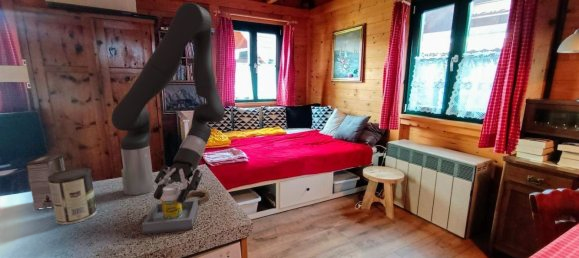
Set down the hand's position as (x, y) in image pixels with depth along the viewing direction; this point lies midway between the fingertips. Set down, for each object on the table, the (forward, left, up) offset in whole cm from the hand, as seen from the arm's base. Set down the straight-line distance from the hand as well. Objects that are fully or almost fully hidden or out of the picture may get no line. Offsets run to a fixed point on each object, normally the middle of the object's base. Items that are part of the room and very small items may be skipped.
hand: (167, 200), depth 78 cm
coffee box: (-42, +22, -7) cm, 48 cm away
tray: (+1, +1, -7) cm, 7 cm away
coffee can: (-29, +10, -7) cm, 32 cm away
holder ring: (+6, +14, -7) cm, 17 cm away
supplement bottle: (+1, +1, -6) cm, 7 cm away
